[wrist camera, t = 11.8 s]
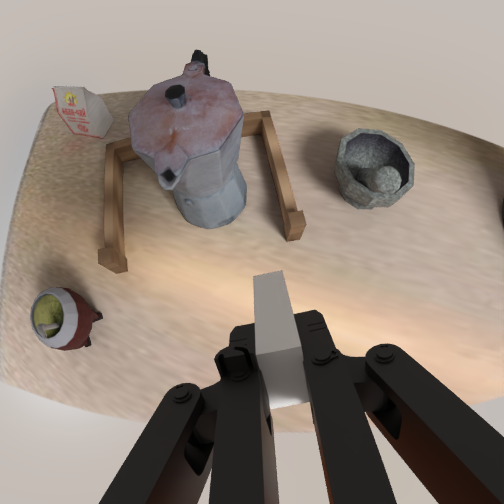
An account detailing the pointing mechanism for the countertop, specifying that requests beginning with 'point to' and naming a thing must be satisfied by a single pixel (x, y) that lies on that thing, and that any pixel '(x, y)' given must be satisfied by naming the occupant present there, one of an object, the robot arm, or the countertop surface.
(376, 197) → the mortar and pestle
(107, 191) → the bay
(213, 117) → the moka pot
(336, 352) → the robot arm
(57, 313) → the mate gourd
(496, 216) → the countertop surface
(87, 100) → the white paper packet
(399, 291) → the countertop surface
